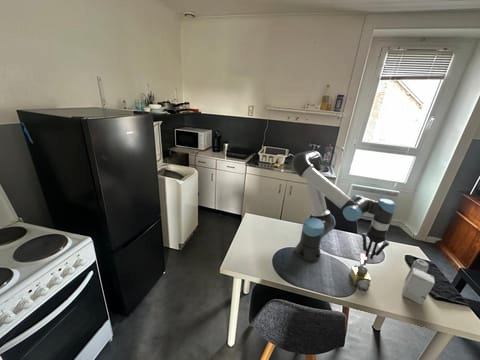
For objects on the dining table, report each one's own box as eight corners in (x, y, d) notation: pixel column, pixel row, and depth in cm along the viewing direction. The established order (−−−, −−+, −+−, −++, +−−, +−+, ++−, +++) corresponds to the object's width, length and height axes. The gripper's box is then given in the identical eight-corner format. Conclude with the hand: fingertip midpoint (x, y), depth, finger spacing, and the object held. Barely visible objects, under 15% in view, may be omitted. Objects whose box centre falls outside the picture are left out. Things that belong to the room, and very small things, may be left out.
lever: (366, 276, 106) (367, 273, 105) (357, 272, 108) (357, 269, 108) (367, 258, 119) (368, 255, 118) (358, 255, 121) (359, 252, 120)
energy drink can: (414, 289, 108) (425, 268, 102) (402, 280, 113) (412, 259, 107) (421, 286, 110) (432, 264, 104) (409, 277, 115) (419, 256, 109)
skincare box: (401, 295, 104) (412, 273, 99) (402, 287, 108) (412, 266, 103) (422, 305, 99) (435, 283, 94) (422, 297, 103) (434, 275, 98)
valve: (370, 292, 105) (374, 283, 103) (356, 289, 106) (359, 280, 104) (360, 272, 117) (363, 264, 115) (348, 270, 118) (350, 262, 115)
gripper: (394, 229, 106) (381, 264, 115) (366, 219, 114) (356, 253, 122) (393, 235, 101) (379, 271, 109) (364, 225, 108) (353, 259, 117)
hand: (367, 262), depth 116 cm, fingers closed
